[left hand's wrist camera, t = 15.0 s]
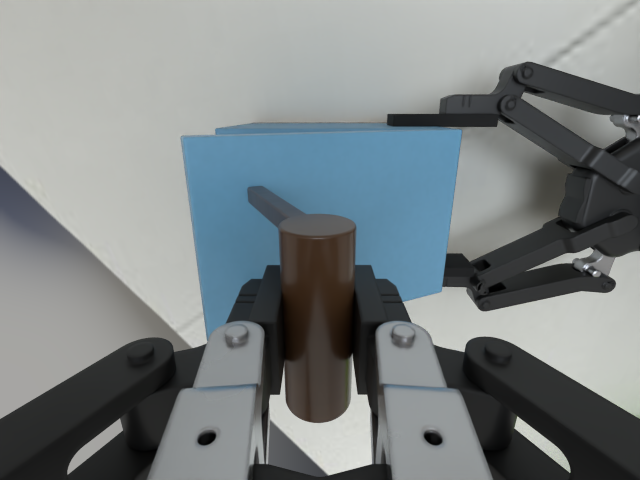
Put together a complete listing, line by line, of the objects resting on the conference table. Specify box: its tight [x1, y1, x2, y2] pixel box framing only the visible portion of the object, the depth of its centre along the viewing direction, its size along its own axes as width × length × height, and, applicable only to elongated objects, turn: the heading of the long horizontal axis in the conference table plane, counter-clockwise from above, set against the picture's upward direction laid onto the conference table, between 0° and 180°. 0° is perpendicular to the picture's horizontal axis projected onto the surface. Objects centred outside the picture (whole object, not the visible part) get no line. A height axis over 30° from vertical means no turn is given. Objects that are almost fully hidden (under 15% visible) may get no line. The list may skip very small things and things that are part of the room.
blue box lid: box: [181, 129, 462, 423], centre depth 15 cm, size 14×10×9 cm
